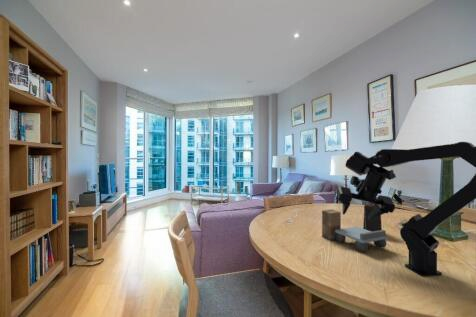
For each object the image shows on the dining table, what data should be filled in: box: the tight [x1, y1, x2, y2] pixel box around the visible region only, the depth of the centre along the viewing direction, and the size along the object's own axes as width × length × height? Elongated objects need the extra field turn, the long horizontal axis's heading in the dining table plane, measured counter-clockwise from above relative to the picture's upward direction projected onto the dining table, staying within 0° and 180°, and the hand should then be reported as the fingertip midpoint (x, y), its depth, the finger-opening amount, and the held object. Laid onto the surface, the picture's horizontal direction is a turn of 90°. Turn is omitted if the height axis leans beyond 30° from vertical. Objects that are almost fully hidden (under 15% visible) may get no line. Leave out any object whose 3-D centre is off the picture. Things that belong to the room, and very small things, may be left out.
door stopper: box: [362, 204, 383, 232], centre depth 107 cm, size 9×6×12 cm, turn 160°
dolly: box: [335, 226, 387, 253], centre depth 93 cm, size 14×11×6 cm
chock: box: [321, 209, 342, 242], centre depth 101 cm, size 5×5×11 cm
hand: (355, 216), depth 91 cm, fingers open, 9 cm apart
